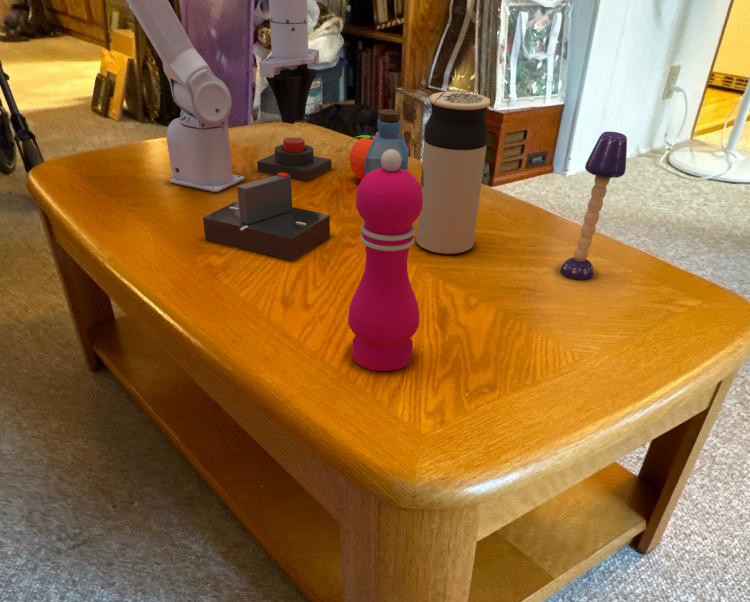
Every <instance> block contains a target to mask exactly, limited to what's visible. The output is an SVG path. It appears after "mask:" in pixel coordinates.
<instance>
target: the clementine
mask: <svg viewBox="0 0 750 602" xmlns="http://www.w3.org/2000/svg"><path fill="white" fill-rule="evenodd" d="M374 137H375V135H373V134H370V135H367V134H361V135H358V136H355V137H353V138H352V139H350V140H349V141H348V142H347V144H346V148H345V149H347V147H348V145H349V144H350V143H351V142H352V140H354V139H357V138H359V139H358V140H356V141H355V143H354V144H353V145H352V147H351V149H350V154H349V165H350V168H351V171H352V172H353V174H354V175H355V177H357V178H358V179H359V180H360V181H361V180H362V179H363V178H364V177H365V166H366V156H367V154H368V151H369V148H370V146H371V144H372V142H373V139H374Z"/></svg>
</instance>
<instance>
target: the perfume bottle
mask: <svg viewBox="0 0 750 602" xmlns="http://www.w3.org/2000/svg"><path fill="white" fill-rule="evenodd" d="M378 113H379V119H377V129H378V131H376V133H375V135H374V136H375V137H374V139H373V142H372V144H371V146H370V148H369V151H368V154H367V156H366V166H365V176H366V175H367V174H368V173H369V172H371V171H373V170H375V169H378V168H382V164H381V158H382V155H383V154H384V152H385V151H387V150H389V149H394V150H396V151H398V152H399V154H400V156H401V160H402V162H401V166H400V167H399V168H400V169H403V170H405V171H407V172H408V169H409V153H410V151H409V147H408V144H407V142H406V139H405V137H404V134H403V133H399V131H400V130H401V120H400V115H401V112H400V110H397V109H389V108H388V109H387V108H385V109H384V108H383V109H380V110H379V111H378Z"/></svg>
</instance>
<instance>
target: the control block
mask: <svg viewBox="0 0 750 602" xmlns="http://www.w3.org/2000/svg"><path fill="white" fill-rule="evenodd" d="M256 165H257V172H258V173H263V174H268V175H272V176H276V175H277V174H278V173H281V172H284V173H287V174H289V176H291V180H297V181H302V182H307V183H309V182H310V181H312V180H315V179H316V178H318V177H320V176H322V175H324V174H326V173H328V172H330V171H331V170H332V159H331V158H326V157H320V156H315V154H314V147H313V146H311V145H308V144H305V151H303V152H297V153H296V152H286V151H284V149H283V144H279V145H277V146H275V147H274V153H273V154H271V155H268V156H266V157H264V158H262V159H259V160H257V162H256Z"/></svg>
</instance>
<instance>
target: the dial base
mask: <svg viewBox="0 0 750 602" xmlns="http://www.w3.org/2000/svg"><path fill="white" fill-rule="evenodd" d="M202 223H203V229H204V237H205V241H209V242H212V243H213V242H214V243H217V244H222V245H226V246H230V247H234V248H238V249H241V250H245V251H248V252H249V251H250V252H254V253H257V254H262V255H265V256H268V257H269V256H270V257H273V258H278V259H282V260H286V261H288V262H289V261H290V262H294V261H296V260H297V259H298V258H300V257H301V256H303V255H305V254H306V253H308V252H309V251H310V250H312V249H314V248H315V247H317V246H318V245H320V244H321V243H323V242H325V241H326V240H327V239H329V238H330V237H331V214H326V213H322V212H317V211H312V210H308V209H303V208H299V207H294V206H292V211H289V212H286V213H283V214H279V215H276V216H273V217H270V218H267V219H264V220H260V221H257V222H254V223H251V224H246V223H243V222H241V221H240V212H239V201H238V200H236V201H233V202H232V203H229V204H228V205H225V206H223V207H222V208H221V207H220V208H219V209H217V210H215V211H213V212H211V213H209V214H207V215H205V216H203V217H202Z"/></svg>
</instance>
